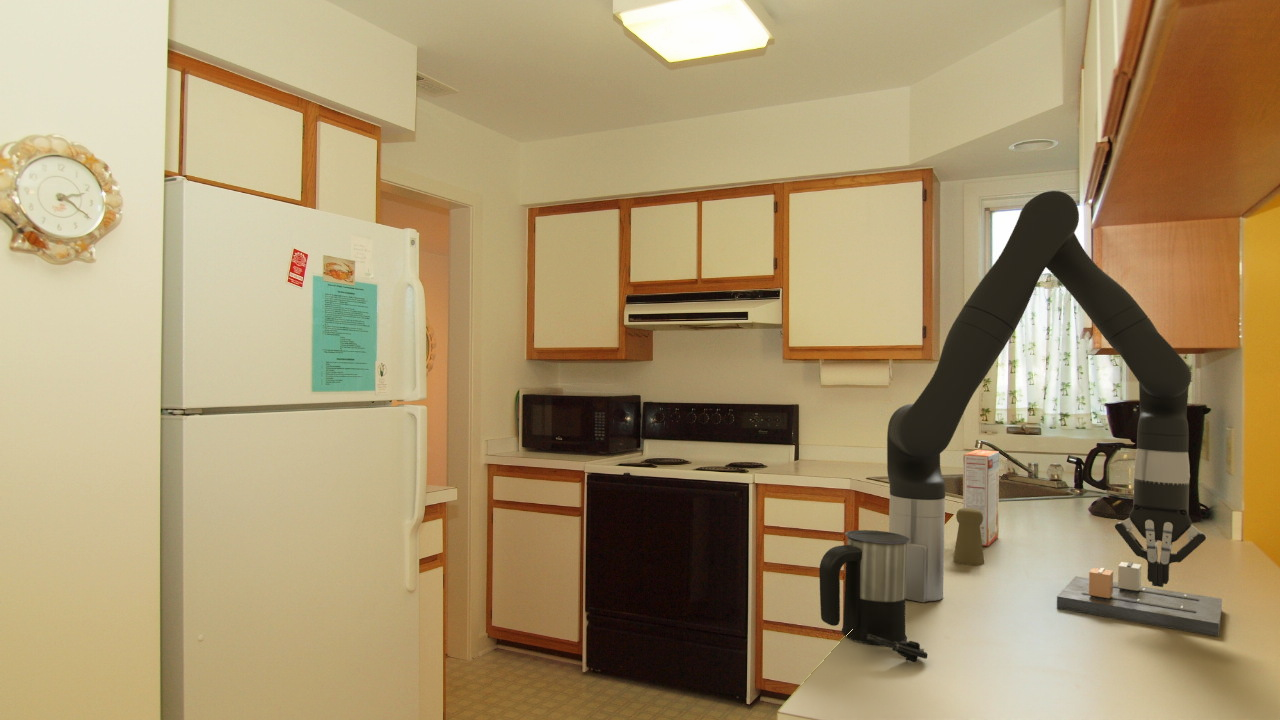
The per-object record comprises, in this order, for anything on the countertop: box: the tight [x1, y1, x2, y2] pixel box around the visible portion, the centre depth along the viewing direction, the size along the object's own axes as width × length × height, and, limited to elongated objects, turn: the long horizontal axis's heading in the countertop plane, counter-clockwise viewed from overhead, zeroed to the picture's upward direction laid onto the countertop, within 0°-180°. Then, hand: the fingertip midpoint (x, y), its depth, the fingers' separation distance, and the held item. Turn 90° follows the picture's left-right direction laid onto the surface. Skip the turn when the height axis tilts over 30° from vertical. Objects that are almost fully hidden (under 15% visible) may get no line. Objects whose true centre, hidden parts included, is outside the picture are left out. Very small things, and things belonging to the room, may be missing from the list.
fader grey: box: [1117, 561, 1142, 591], centre depth 141 cm, size 4×3×4 cm
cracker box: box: [962, 449, 1000, 547], centre depth 191 cm, size 14×6×21 cm, turn 147°
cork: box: [953, 507, 985, 566], centre depth 169 cm, size 6×6×11 cm
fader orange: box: [1088, 567, 1114, 598], centre depth 136 cm, size 4×3×4 cm
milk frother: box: [818, 529, 928, 663], centre depth 114 cm, size 14×16×15 cm
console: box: [1056, 575, 1223, 638], centre depth 136 cm, size 18×22×2 cm
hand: (1158, 585), depth 131 cm, fingers closed
